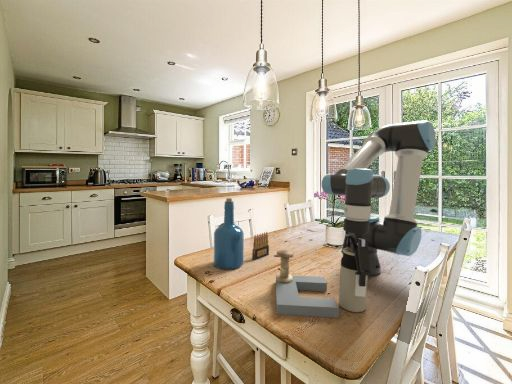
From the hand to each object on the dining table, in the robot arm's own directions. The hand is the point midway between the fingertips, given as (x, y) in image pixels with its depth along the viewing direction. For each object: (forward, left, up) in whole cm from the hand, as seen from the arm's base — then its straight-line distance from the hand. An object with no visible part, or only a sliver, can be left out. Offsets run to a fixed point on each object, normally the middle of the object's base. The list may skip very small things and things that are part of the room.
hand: (352, 285), depth 81 cm
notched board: (+15, -4, -7) cm, 17 cm away
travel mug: (0, 0, -7) cm, 7 cm away
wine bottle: (+45, -31, -7) cm, 55 cm away
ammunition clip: (+31, -43, -7) cm, 54 cm away
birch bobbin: (+21, -11, -4) cm, 24 cm away
